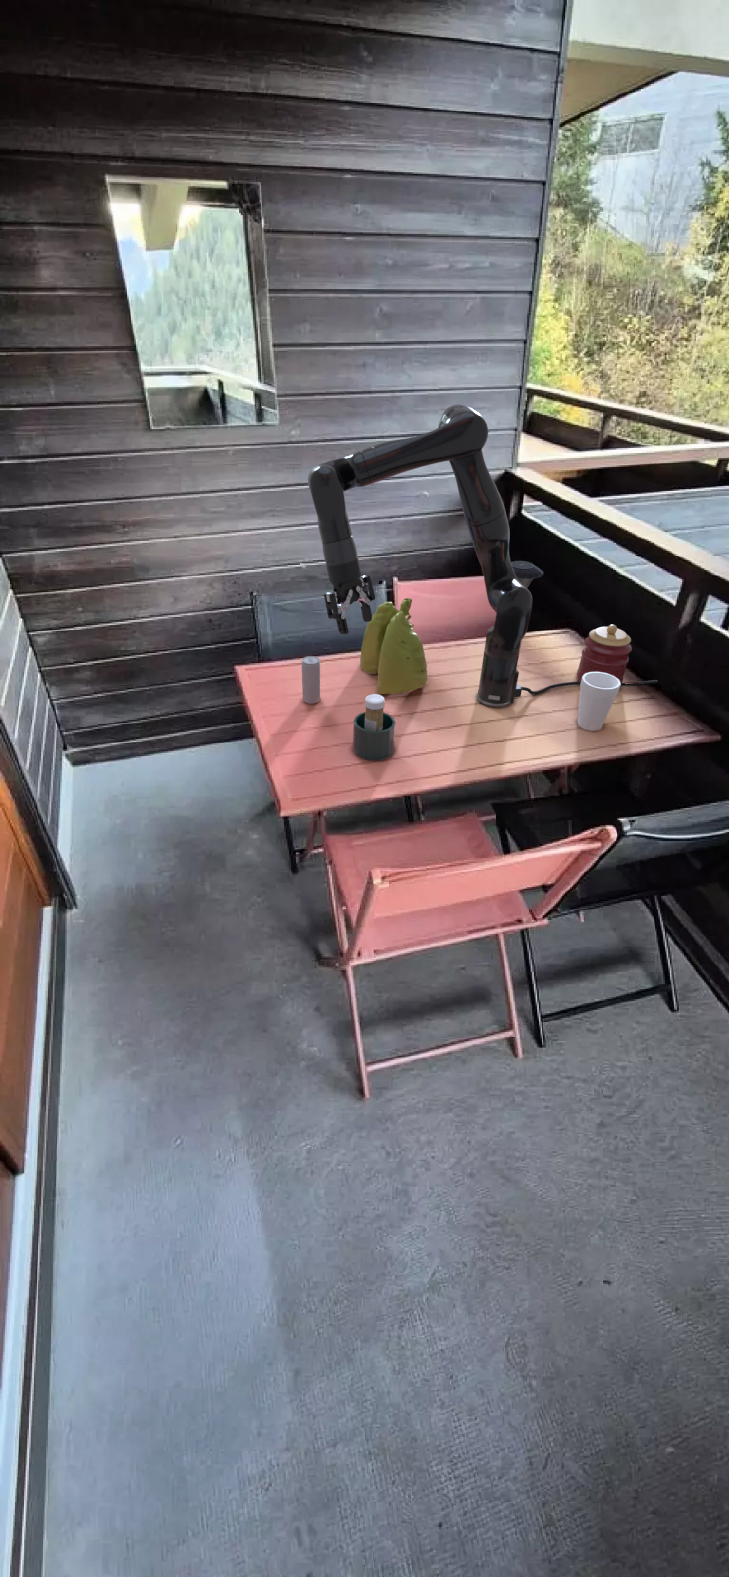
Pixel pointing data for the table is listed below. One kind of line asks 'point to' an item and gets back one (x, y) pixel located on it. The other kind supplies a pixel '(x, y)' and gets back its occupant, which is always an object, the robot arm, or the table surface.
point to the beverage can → (311, 679)
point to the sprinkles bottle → (374, 712)
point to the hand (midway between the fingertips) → (356, 627)
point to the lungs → (393, 650)
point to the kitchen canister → (605, 652)
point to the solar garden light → (526, 572)
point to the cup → (373, 739)
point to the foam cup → (596, 699)
